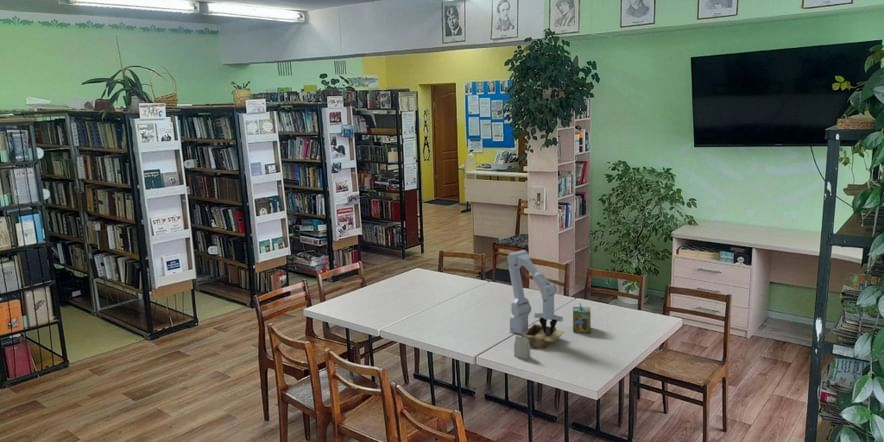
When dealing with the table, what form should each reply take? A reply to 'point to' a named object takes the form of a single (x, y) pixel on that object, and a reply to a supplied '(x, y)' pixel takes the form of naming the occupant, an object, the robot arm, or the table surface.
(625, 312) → the table surface
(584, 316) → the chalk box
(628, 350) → the table surface
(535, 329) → the box
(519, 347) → the grey upright block
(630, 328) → the table surface
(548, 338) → the lid
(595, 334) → the table surface
